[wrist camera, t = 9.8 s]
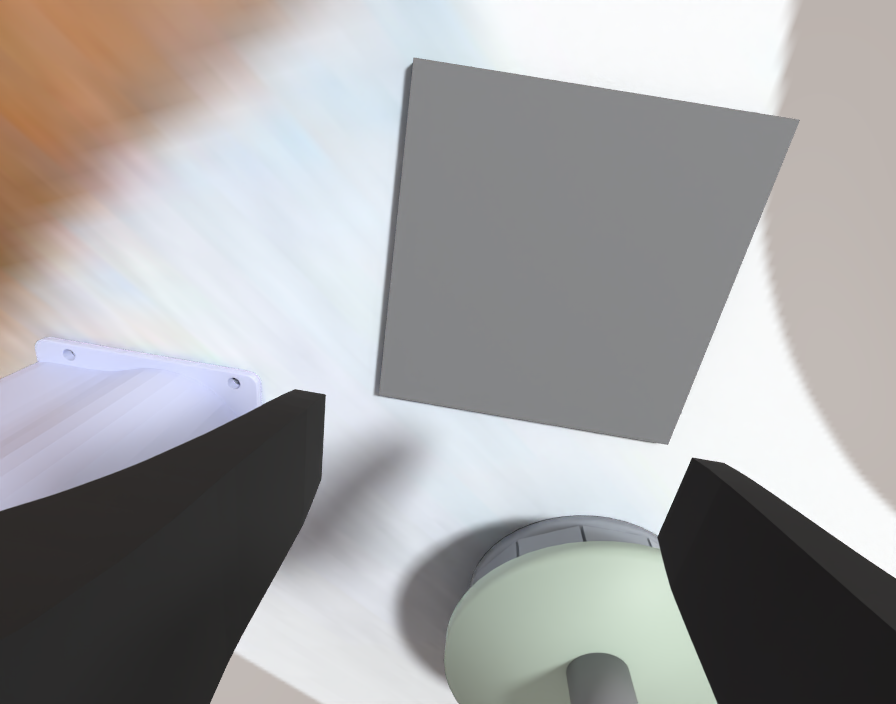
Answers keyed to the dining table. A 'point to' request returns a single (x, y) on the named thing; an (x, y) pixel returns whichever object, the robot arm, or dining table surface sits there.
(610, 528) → the bowl
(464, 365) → the mat
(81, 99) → the dining table surface
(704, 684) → the lid
